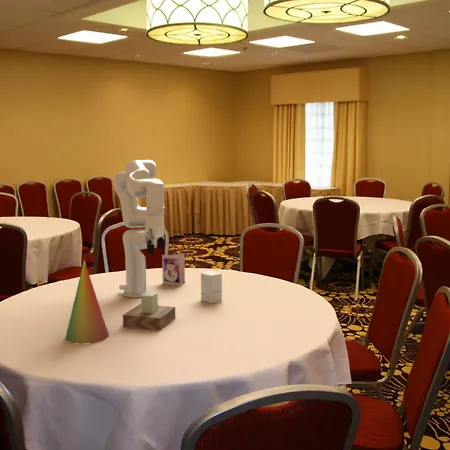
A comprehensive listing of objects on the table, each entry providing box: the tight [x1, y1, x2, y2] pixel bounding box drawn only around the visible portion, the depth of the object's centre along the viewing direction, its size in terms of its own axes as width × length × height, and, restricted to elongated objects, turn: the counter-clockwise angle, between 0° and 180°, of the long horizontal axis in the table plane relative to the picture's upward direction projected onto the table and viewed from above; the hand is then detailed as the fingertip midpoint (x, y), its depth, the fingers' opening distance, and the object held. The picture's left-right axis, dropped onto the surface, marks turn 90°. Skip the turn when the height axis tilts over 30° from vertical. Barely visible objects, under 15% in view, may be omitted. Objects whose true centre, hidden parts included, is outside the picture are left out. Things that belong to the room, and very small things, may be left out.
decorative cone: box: [65, 260, 110, 345], centre depth 219 cm, size 16×16×30 cm
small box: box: [200, 270, 223, 304], centre depth 268 cm, size 8×6×13 cm
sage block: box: [140, 292, 159, 313], centre depth 236 cm, size 5×5×7 cm
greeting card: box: [161, 253, 186, 287], centre depth 300 cm, size 11×7×15 cm, turn 62°
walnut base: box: [122, 303, 176, 332], centre depth 237 cm, size 16×16×5 cm
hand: (155, 251), depth 246 cm, fingers open, 9 cm apart
